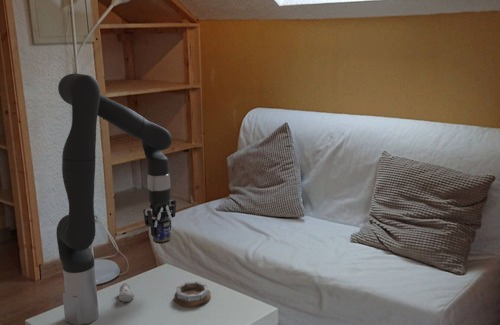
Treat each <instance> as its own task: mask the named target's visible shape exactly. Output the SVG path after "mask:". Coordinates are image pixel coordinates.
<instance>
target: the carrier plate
mask: <svg viewBox="0 0 500 325" xmlns="http://www.w3.org/2000/svg"><path fill="white" fill-rule="evenodd" d="M211 295H212V294H211V291H210V289H209V287H208V284H207V283H203V282H201V281H198V280H197V281H186V282H183V283H181V284H180V285H178V286H176V292H175V293H174V302H175V303H176V304H177V305H178V306H181V307H184V308H198V307H201V306H203V305H206V304H208V303H209V302H210V301H211V298H212V296H211Z"/></svg>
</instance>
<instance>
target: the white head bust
mask: <svg viewBox="0 0 500 325" xmlns="http://www.w3.org/2000/svg"><path fill="white" fill-rule="evenodd" d="M135 295H136V294H135V293H134V292H133V290H132V289H131V287H130V285H129V283H122V284H121V286H120V287H119V294H118V296H119V300H120V301H121V302H123V303H130V302H131V301H133V300H134V297H135Z"/></svg>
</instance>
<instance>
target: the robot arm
mask: <svg viewBox="0 0 500 325" xmlns="http://www.w3.org/2000/svg"><path fill="white" fill-rule="evenodd" d="M57 90H58V94H59V96H60V98H61V99H62V100H63V101H64V102H65V103H66V104H69V105H71V120H72V121H71V126H70V130H69V133H68V135H67V137H66V140H65V142H64V146H63V150H62V158H61V159H62V162H61V170H62V171H61V173H62V174H61V176H62V179H63V181H62V182H63V184H64V189H65V191H66V192H65V193H66V196H67V201H68V214H67V215H64V216H63V217H61V219H60V220H59V222H58V224H57V226H56V233H55V234H56V242H57V249H58V256H59V259H60V262H61V266H62V272H63V281H64V282H63V284H64V285H63V286H64V292H62V303H63V310H64V311H63V312H64V321H65V322H66V323H69V324H71V325H88V324H91V323H93V322H95V321H96V320H97V319H98V318H99V314H100V313H99V304H98V302H99V301H98V292H97V290H98V289H97V280H96V267H95V257H94V255H93V253H92V251H91V249H90V247H91V245H92V244H93V243H94V241H95V237H96V221H95V220H96V219H95V218H96V217H95V205H94V204H95V203H94V202H95V182H96V181H95V178H96V177H95V176H96V146H97V145H96V142H97V123H98V122H97V121H98V117H100V118H102V119H103V120H104V121H107V122H108V123H109V124H111V125H113V126H114V127H116V128H118V129H119V130H121V131H123V132H124V133H126V134H128V135H130V136H131V137H133V138H136V139H139V140H141V143H142V144H141V145H142V148H143V152H144V155H145V159H146V162H147V164H146V165H147V166H146V167H147V194H148V196H147V197H148V201H149V204H150V205H149V208H147V209H145V208H144V209H143V218H144V224H145V227H150V235H151V237H152V238H153V237H158V230H157V223H158V221H159V220H160V217H161V213H162V212H163V211H164V210H167V216H169V218H170V231H171V230H172V220H173V218H175V217H176V210H177V208H176V207H177V201H176V200H174V199H172V191H171V190H172V189H171V177H170V166H169V165H170V163H169V158H168V157H167V156H166V155H165V154H164V153H163V151H165V150H167V149H169V148H170V147H171V145H172V143H173V137H172V134H171V133H170V131H169V130H167V129H166V128H164V127H162V126H160V125H159V124H156V123H154V122H152V121H149V120H148V119H146V118H145V117H143V116H142V115H140V113H138V112H136V111H134V110H133V109H131V108H129V107H127V106H125V105H123V104H121V103H118V102H117V101H115V100H113V99H110V98H109V97H107V96H105V95H103V93H101V87H100V84H99V81H98V80H97V79H96V78H95V77H93V76H92V75H89V74H83V73H82V74H81V73H69V74H66V75H64V76H63V77H62V78H61V79H60V81H59V82H58V88H57ZM154 215H155V216H157V217H156V218H155V217H154ZM153 220H155V222H154V223H153Z"/></svg>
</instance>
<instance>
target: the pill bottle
mask: <svg viewBox="0 0 500 325" xmlns="http://www.w3.org/2000/svg"><path fill="white" fill-rule="evenodd" d="M154 217H155V218H156V217H157V216H155V215H154ZM154 222H155V220H153V223H154ZM157 230H158V237H152V242H153V243H155V244H161V245H162V244H167V243H170V241H171V239H172V238H171V230H170V218H169V216H167V210H164V211H163V212H162V213H161V217H160V220H159V221H158V223H157Z"/></svg>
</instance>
